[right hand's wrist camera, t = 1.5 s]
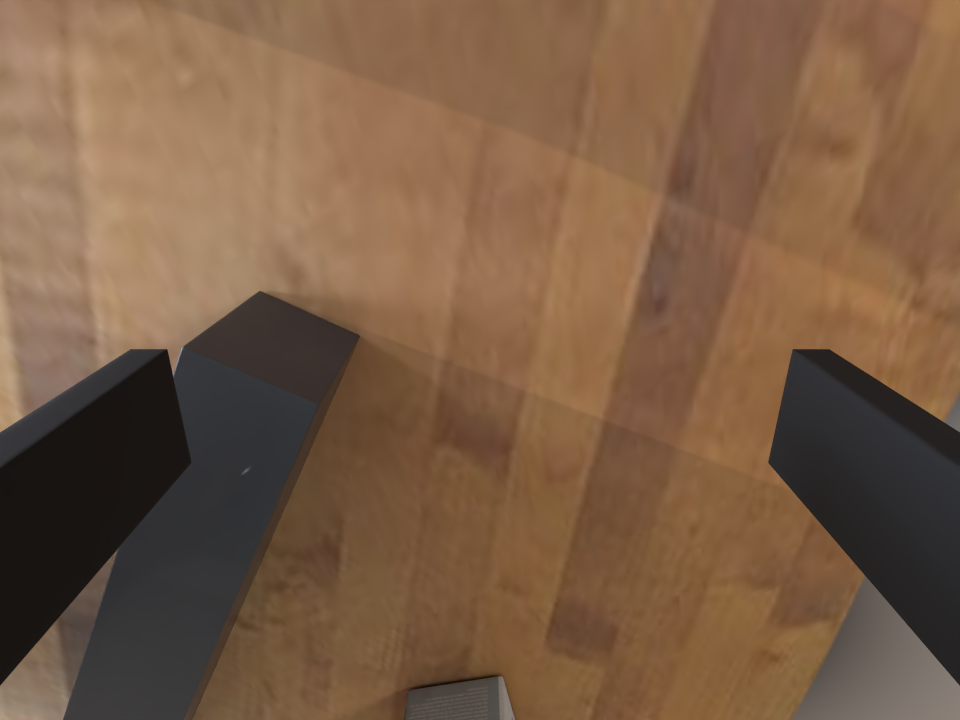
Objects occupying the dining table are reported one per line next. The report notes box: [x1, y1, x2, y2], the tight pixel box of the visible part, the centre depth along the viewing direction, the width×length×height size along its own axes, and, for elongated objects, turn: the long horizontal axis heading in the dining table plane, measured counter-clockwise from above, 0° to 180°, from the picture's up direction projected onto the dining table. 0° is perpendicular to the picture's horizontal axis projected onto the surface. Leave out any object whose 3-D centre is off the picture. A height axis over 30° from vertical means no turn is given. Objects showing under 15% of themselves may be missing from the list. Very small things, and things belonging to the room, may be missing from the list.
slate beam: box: [63, 291, 360, 720], centre depth 34 cm, size 6×36×9 cm, turn 154°
